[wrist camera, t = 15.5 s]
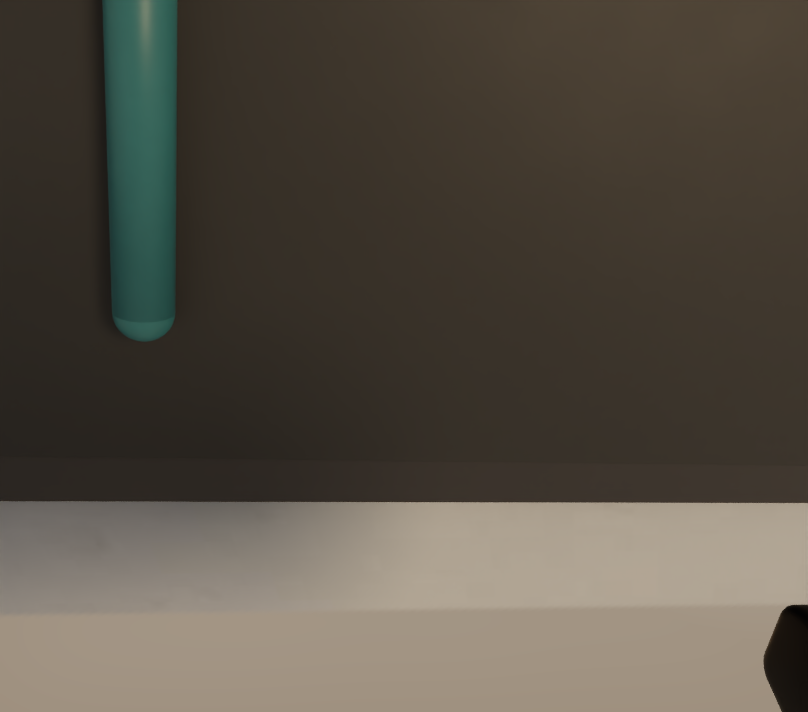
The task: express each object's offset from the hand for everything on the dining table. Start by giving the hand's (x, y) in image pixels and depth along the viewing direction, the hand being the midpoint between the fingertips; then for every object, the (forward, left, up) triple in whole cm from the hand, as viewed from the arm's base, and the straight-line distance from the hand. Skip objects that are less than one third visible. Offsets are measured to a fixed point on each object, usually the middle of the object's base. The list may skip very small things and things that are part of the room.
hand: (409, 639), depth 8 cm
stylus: (+1, +5, -10) cm, 11 cm away
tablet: (+2, -4, -12) cm, 13 cm away
